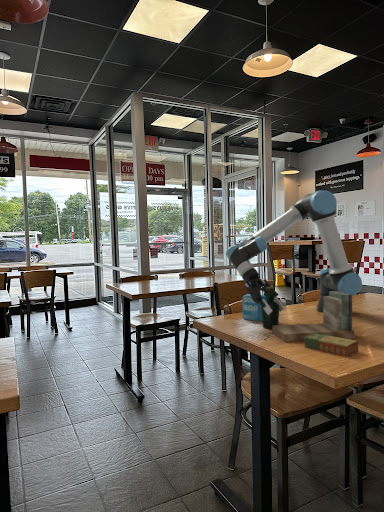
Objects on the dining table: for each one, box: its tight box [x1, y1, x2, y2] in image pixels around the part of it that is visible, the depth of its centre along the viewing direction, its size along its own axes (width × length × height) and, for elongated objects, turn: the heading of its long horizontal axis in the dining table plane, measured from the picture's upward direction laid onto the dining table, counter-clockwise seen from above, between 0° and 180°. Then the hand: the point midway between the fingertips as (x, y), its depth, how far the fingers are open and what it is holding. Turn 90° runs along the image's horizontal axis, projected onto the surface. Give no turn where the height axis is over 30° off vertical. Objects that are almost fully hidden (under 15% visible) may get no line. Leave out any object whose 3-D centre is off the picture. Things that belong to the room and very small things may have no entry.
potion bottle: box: [261, 286, 280, 330], centre depth 159 cm, size 8×8×18 cm
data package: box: [241, 293, 267, 322], centre depth 176 cm, size 12×4×12 cm, turn 65°
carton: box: [304, 333, 359, 358], centre depth 127 cm, size 8×16×4 cm, turn 41°
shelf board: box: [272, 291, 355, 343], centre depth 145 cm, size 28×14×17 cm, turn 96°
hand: (276, 311), depth 157 cm, fingers closed on potion bottle, 8 cm apart
